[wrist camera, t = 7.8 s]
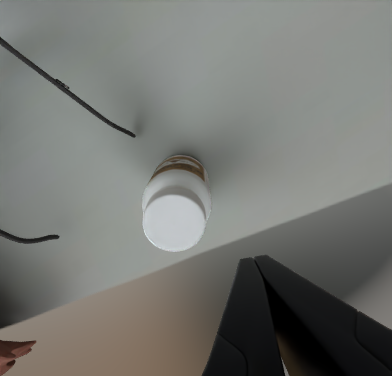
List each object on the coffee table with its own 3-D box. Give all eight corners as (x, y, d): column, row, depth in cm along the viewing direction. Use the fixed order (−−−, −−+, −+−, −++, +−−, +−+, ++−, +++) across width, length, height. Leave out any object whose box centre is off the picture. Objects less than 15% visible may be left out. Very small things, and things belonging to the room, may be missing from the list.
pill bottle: (201, 148, 21) (204, 176, 14) (213, 200, 23) (222, 251, 15) (147, 160, 21) (121, 195, 14) (161, 211, 23) (145, 266, 16)
